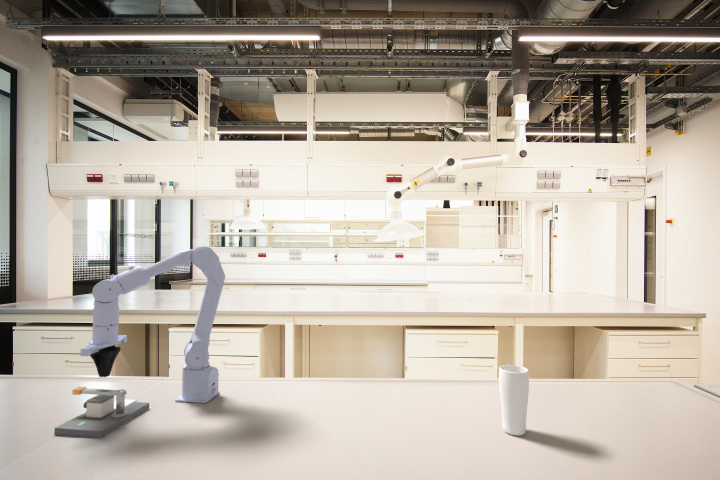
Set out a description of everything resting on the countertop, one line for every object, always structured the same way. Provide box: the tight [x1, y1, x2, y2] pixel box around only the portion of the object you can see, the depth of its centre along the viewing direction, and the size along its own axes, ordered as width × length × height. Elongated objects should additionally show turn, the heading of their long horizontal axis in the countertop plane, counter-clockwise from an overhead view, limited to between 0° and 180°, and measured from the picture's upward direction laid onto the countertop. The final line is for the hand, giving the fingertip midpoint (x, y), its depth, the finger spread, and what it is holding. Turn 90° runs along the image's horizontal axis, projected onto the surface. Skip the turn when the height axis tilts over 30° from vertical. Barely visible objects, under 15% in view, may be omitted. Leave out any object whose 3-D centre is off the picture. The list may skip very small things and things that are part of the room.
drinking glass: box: [498, 364, 530, 437], centre depth 89 cm, size 7×7×15 cm
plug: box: [82, 395, 115, 418], centre depth 94 cm, size 6×4×4 cm, turn 83°
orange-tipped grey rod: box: [71, 386, 127, 414], centre depth 94 cm, size 14×2×5 cm, turn 83°
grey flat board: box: [53, 398, 150, 439], centre depth 94 cm, size 12×17×2 cm
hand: (104, 376), depth 98 cm, fingers closed
